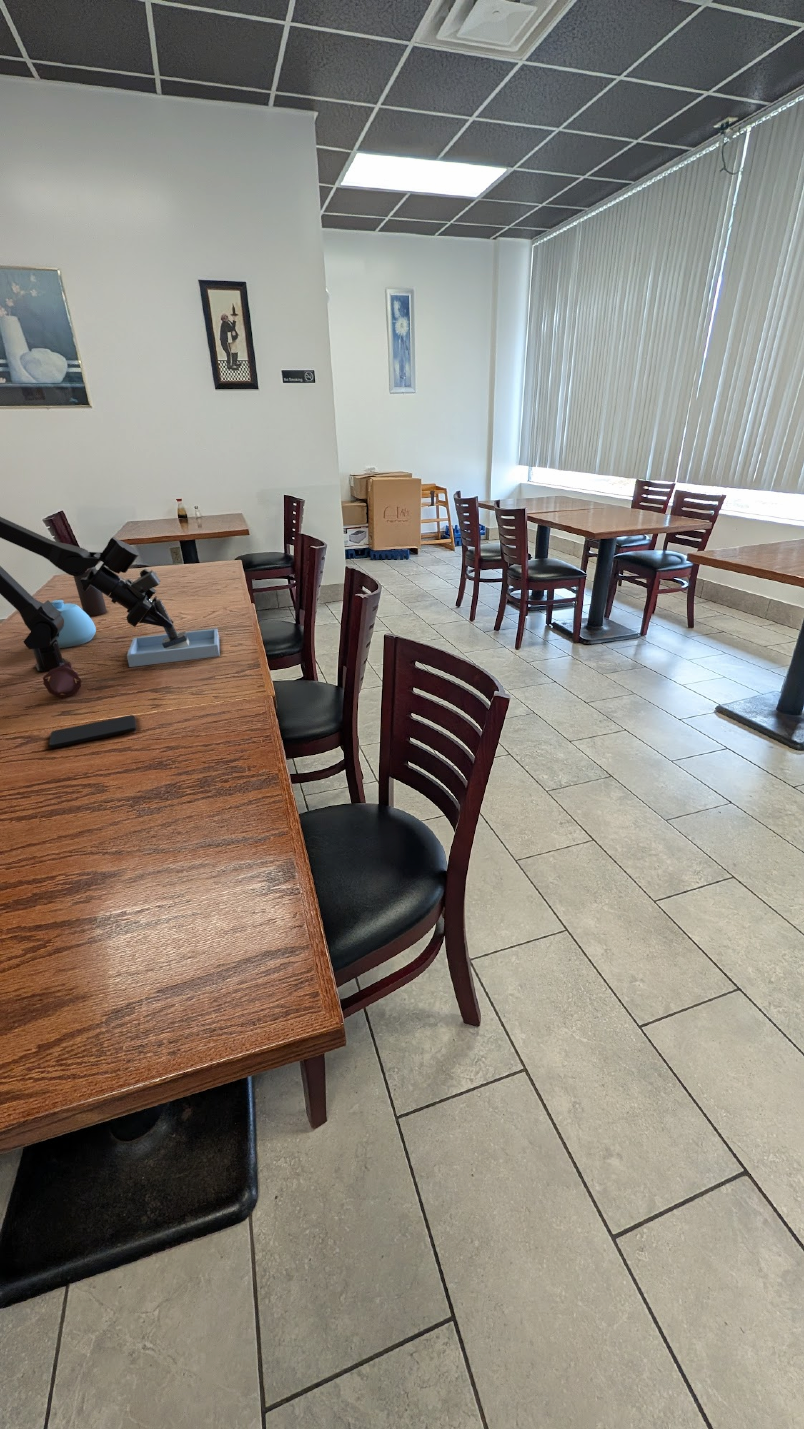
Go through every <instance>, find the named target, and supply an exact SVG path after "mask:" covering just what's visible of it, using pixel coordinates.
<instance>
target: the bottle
mask: <svg viewBox="0 0 804 1429" xmlns="http://www.w3.org/2000/svg"><path fill="white" fill-rule="evenodd" d="M86 550H87V551H88V552H89V550H88V549H86ZM92 569H97V568H96V566H95V567H93V568H90V569H89V570H88V571H87V572H85V573H84V574H83V575H80V576H73V580H74V583H75V588H76V591H77V594H78V597H79V598H78V599H79V601H80V604H81V609H82V610H83V611H84V612H85V613H86V614H87V615H88V616H89V617H97V616H102V615H104V614H106V613H107V612H108V610H107V606H106V602H105V598H104V594H103V593H102V592H100V591H99V590H97V589H96V588H94V587H93V586H91V585H90V586H89V588H88V589H87V590H86V591H83V589H82V584H81V582H80V580H81V579H82V578H86V577H87V576H88V575H89V573H90V572H91V571H92Z"/></svg>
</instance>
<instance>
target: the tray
mask: <svg viewBox="0 0 804 1429" xmlns="http://www.w3.org/2000/svg"><path fill="white" fill-rule="evenodd" d="M218 630H219V629H218V628H209V629H199V630H190V631H186V633H187V638H188V640H189V646H188V647H185V648H178V649H170V650H166V649H165V648H164V647H163V645H162V642H163V639H164V638H167V637H168V635H167V633H164V634H156V635H146V636H138V637H133V638H132V641H131V644H130V646H129V648H128V651H127V654H126V659H127V664H128V668H134V667H135V668H136V667H142V666H149V665H158V664H165V663H166V664H167V663H174V662H182V661H183V662H184V661H191V660H200V659H206V658H207V659H208V658H216V657H220V636H219V631H218ZM178 633H179V632H177V634H178Z"/></svg>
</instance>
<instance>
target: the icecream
mask: <svg viewBox="0 0 804 1429" xmlns="http://www.w3.org/2000/svg"><path fill="white" fill-rule="evenodd" d="M42 682H43V683H42V684H43V686H44V687H45V688H46V690H47V692H48V693H49V694H50V695H53V696H57V697H59V698H67V697H74V696H75V695H76V694H77V693H78V692H79V690H80V689H81V688H82V679H81V678H80V677H79V673H78V672H77V671H75V670H74V669H72V663H71V662H70V661H66V662H65V663H63V664H62V667H57V668H54V669H51V670H48V671H47V673H46V674H45V675H44V676H43V677H42Z"/></svg>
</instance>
